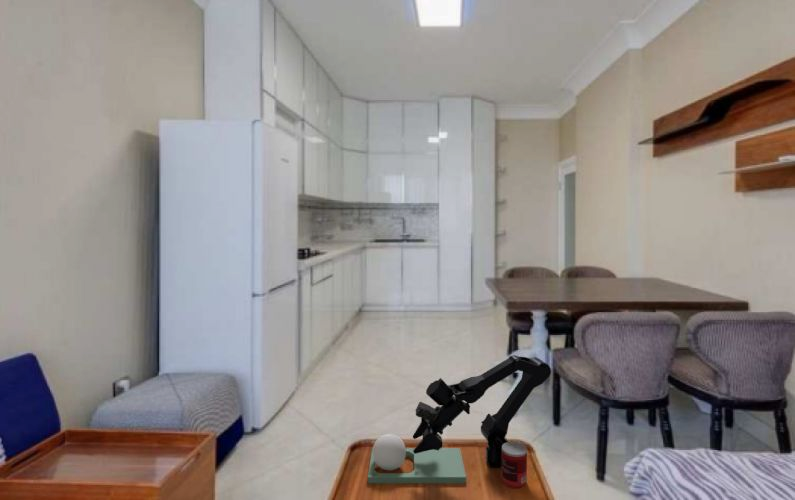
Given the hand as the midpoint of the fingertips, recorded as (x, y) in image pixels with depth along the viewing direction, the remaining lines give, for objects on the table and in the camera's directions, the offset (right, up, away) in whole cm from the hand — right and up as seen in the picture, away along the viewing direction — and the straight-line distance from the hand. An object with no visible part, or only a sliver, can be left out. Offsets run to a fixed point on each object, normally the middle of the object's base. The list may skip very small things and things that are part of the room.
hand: (413, 444), depth 149 cm
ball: (-8, -2, 0) cm, 8 cm away
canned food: (+31, -8, -7) cm, 33 cm away
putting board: (+1, -8, +1) cm, 8 cm away
